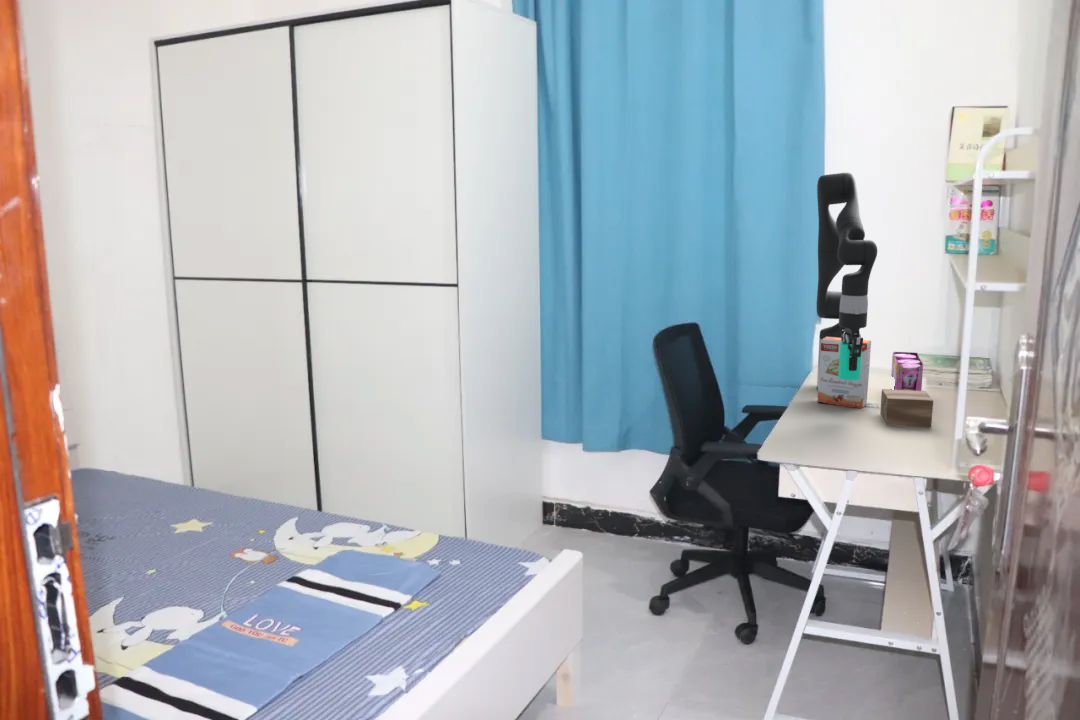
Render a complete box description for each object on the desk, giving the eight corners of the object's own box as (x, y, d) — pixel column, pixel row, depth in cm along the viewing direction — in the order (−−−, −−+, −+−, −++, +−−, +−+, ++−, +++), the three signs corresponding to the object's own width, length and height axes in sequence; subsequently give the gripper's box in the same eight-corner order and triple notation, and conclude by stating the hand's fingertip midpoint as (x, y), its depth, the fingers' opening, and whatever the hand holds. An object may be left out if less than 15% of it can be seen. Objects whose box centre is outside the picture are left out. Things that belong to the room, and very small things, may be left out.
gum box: (921, 409, 255) (924, 366, 252) (893, 407, 257) (896, 364, 255) (915, 392, 277) (918, 352, 274) (889, 390, 279) (892, 351, 277)
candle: (861, 380, 237) (864, 339, 234) (839, 380, 238) (842, 339, 236) (858, 376, 243) (860, 335, 240) (836, 375, 244) (839, 335, 241)
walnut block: (880, 414, 249) (882, 389, 248) (923, 417, 246) (925, 391, 245) (885, 425, 238) (887, 398, 236) (931, 427, 235) (933, 400, 233)
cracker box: (816, 403, 263) (820, 338, 259) (822, 399, 268) (825, 335, 264) (862, 409, 256) (867, 342, 251) (867, 404, 260) (871, 339, 256)
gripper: (833, 306, 244) (830, 363, 247) (846, 314, 230) (843, 373, 233) (859, 306, 243) (856, 363, 246) (874, 314, 229) (870, 374, 232)
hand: (849, 368), depth 240 cm, fingers closed on candle, 5 cm apart
